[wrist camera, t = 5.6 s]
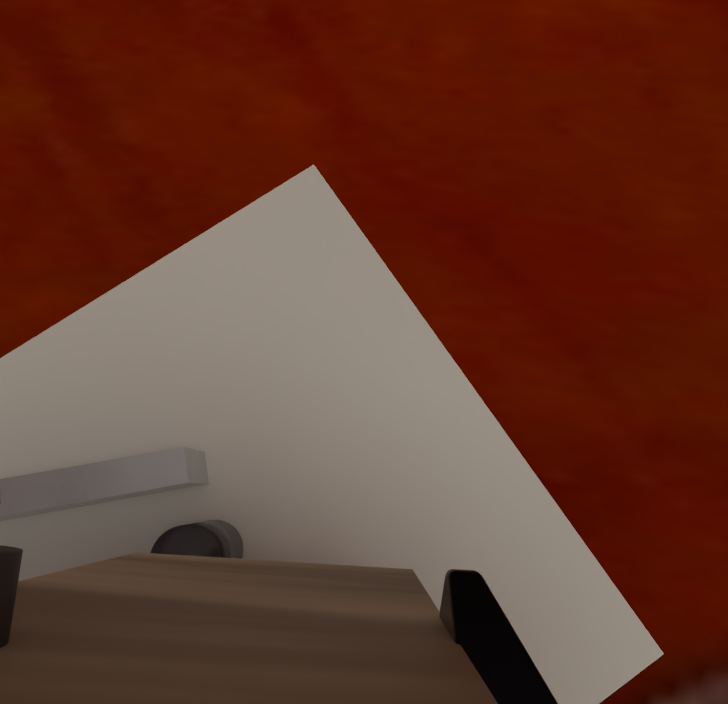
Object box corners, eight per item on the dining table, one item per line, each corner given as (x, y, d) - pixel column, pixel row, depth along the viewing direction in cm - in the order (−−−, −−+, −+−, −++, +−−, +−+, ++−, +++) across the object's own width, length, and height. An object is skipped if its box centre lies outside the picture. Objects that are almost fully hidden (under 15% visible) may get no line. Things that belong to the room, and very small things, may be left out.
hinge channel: (257, 647, 20) (234, 679, 17) (-136, 721, 20) (-241, 768, 16) (229, 447, 21) (204, 439, 18) (-141, 513, 21) (-240, 517, 18)
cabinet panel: (-8, 1147, 19) (-29, 1184, 18) (-284, 550, 22) (-314, 552, 21) (650, 646, 21) (663, 653, 20) (316, 177, 24) (313, 164, 23)
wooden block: (408, 668, 14) (605, 1478, 2) (124, 650, 14) (-968, 1346, 3) (413, 531, 15) (594, 661, 3) (141, 514, 15) (-691, 582, 3)
